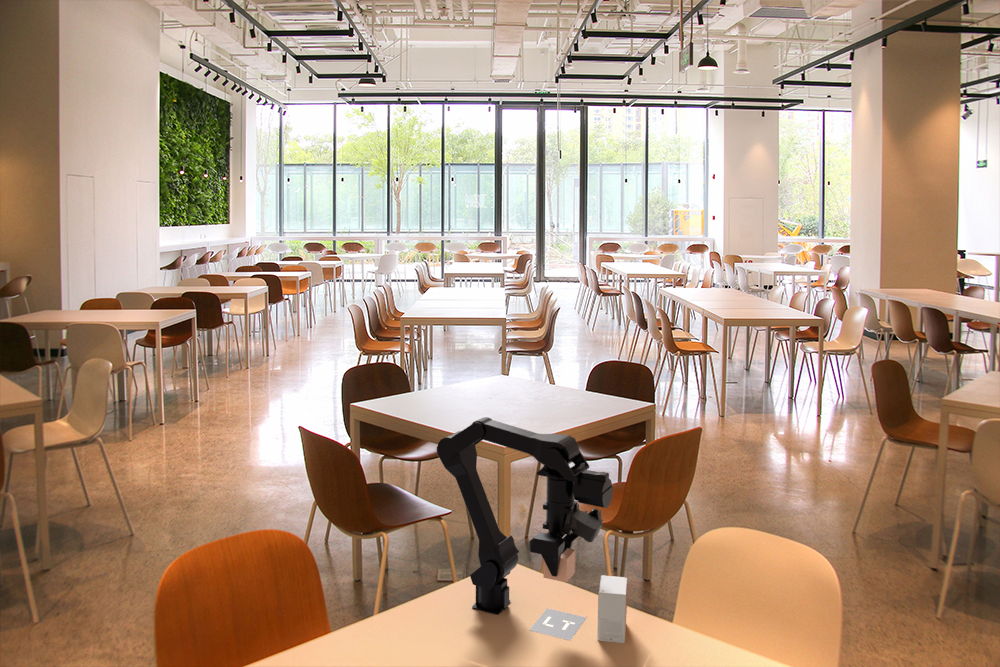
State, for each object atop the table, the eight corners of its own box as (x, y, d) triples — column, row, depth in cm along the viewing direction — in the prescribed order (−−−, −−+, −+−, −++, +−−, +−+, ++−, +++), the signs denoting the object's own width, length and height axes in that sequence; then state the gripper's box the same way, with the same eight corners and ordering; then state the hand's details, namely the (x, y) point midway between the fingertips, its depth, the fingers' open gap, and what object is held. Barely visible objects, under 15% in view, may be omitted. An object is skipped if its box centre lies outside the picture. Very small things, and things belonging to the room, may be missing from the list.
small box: (625, 644, 153) (626, 595, 152) (596, 641, 154) (598, 592, 153) (626, 624, 161) (628, 576, 160) (599, 621, 162) (600, 574, 161)
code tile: (528, 631, 158) (528, 630, 158) (547, 609, 167) (547, 608, 167) (570, 641, 154) (570, 640, 154) (586, 618, 163) (586, 617, 163)
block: (543, 577, 158) (543, 554, 157) (552, 567, 162) (552, 545, 162) (566, 582, 156) (566, 559, 155) (574, 572, 160) (575, 549, 159)
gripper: (582, 521, 145) (581, 599, 147) (612, 490, 161) (610, 560, 164) (528, 511, 150) (527, 586, 152) (562, 482, 166) (561, 550, 169)
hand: (559, 570), depth 159 cm, fingers closed on block, 5 cm apart
